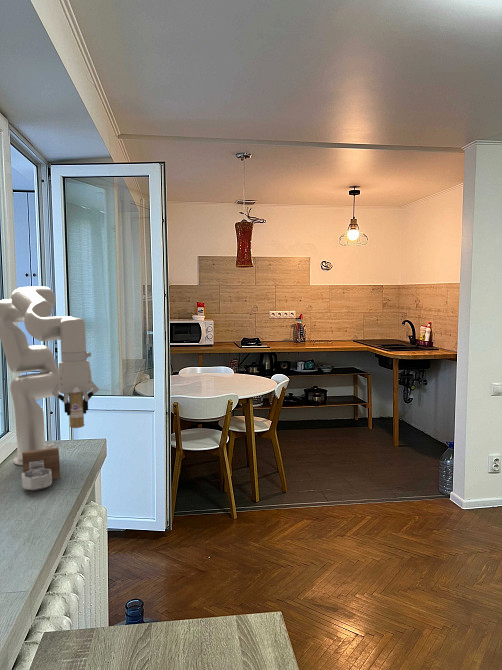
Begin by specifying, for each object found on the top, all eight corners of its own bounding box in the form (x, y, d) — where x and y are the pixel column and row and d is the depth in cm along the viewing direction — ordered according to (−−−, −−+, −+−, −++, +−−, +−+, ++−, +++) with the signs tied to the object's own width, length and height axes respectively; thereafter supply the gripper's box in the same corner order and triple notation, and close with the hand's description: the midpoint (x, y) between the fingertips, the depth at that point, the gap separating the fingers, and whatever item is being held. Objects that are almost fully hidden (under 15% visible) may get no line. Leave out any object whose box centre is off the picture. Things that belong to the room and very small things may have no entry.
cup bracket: (52, 487, 163) (51, 469, 162) (22, 492, 160) (21, 473, 159) (51, 476, 173) (50, 458, 172) (22, 480, 170) (21, 462, 169)
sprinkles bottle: (70, 429, 166) (68, 387, 164) (69, 425, 170) (67, 384, 168) (85, 427, 168) (83, 385, 166) (83, 423, 172) (82, 383, 170)
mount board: (60, 477, 174) (58, 448, 173) (24, 483, 170) (22, 453, 169) (59, 472, 179) (57, 443, 178) (24, 477, 175) (22, 448, 174)
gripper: (100, 353, 173) (102, 408, 175) (45, 357, 167) (48, 413, 168) (102, 357, 166) (105, 413, 168) (45, 360, 160) (48, 419, 162)
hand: (76, 413), depth 168 cm, fingers closed on sprinkles bottle, 4 cm apart
